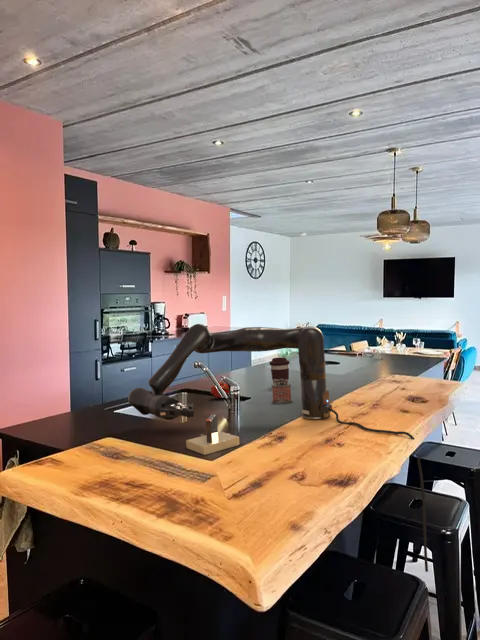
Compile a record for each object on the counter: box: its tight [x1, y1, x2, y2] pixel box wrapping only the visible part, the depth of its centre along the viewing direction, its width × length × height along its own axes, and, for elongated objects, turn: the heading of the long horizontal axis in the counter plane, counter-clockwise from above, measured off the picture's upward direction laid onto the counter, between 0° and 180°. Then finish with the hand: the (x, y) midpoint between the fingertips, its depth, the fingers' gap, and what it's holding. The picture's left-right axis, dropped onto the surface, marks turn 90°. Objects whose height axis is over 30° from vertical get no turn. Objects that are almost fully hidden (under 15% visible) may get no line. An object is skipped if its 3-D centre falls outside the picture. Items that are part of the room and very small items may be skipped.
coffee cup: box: [269, 356, 291, 385], centre depth 241 cm, size 10×10×15 cm
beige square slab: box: [185, 431, 240, 456], centre depth 149 cm, size 13×13×3 cm
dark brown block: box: [205, 413, 219, 443], centre depth 148 cm, size 9×2×7 cm, turn 172°
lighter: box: [271, 379, 292, 404], centre depth 207 cm, size 8×3×10 cm, turn 84°
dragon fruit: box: [209, 381, 230, 400], centre depth 224 cm, size 8×8×12 cm
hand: (191, 413), depth 150 cm, fingers closed
